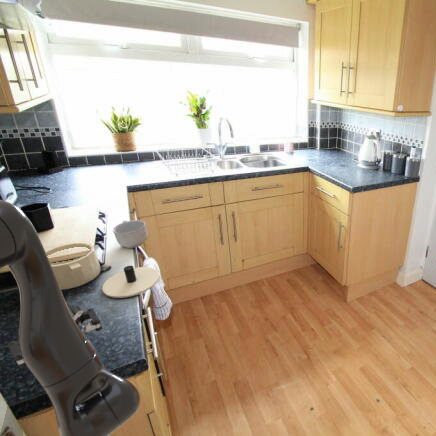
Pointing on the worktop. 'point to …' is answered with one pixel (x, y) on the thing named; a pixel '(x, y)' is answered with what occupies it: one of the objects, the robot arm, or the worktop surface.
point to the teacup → (131, 233)
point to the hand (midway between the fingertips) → (49, 318)
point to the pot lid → (130, 282)
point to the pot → (75, 267)
